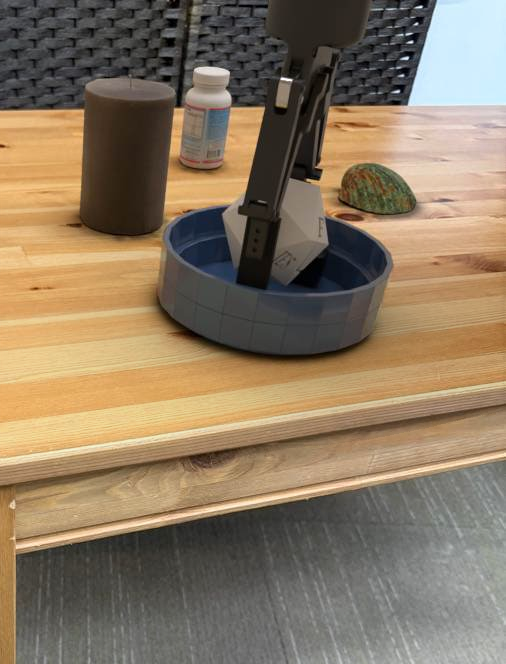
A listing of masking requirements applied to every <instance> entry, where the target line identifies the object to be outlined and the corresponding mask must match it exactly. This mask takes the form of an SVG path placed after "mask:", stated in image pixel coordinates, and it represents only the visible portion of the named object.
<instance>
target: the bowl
mask: <svg viewBox="0 0 506 664" xmlns="http://www.w3.org/2000/svg"><path fill="white" fill-rule="evenodd" d="M232 204H233V203H231V204H220V205H219V204H218V205H211V206H207V207H202V208H198V209H193V210H190V211H187V212H185V213H183V214H181V215H179V216H177V217H175V218H174V219H173V220H172V221H171V222H169V223H168V224H167V225H165V228H164V231H163V233H162V234H163V235H162V238H161V250H160V257H159V265H158V266H159V267H158V276H157V286H156V294H157V297H158V300H159V303H160V305H161V307H162V308H163V309H164V310H165V311H166V313H168V314H169V316H170V317H171V318H172V319H173V320H175V321H176V322H178V323H179V324H181V325H182V326H184V327H186V328H187V329H188V330H190V331H192V332H193V333H194V334H197V335H198V336H201V337H203V338H206V339H207V340H209V341H212V342H215V343H218V344H220V345H223V346H227V347H230V348H234V349H237V350H241V351H242V350H243V351H246V352H252V353H258V354H262V355H263V354H265V355H276V356H308V355H316V354H317V355H318V354H323V353H328V352H333V351H339V350H341V349H345V348H346V347H350V346H353V345H355V344H358V343H359V342H361V341H362V340H364V339H365V338H366V337H368V336H369V335H370V334H372V333H373V331H374V329H375V327H376V324H377V322H378V320H379V316H380V313H381V310H382V307H383V303H384V301H385V297H386V294H387V290H388V287H389V284H390V281H391V277H392V274H393V270H394V268H395V264H394V260H393V256H392V253H391V251H390V250H389V249H388V248H387V247H386V246H385V245H384V243H383V242H382V241H380V240H379V239H378V238H376V237H375V236H373V235H372V234H370V233H368V232H367V231H366V230H364V229H362V228H360V227H358V226H355V225H353V224H351V223H349V222H347V221H345V220H341V219H338V218H335V217H331V216H330V215H326V214H324V216H325V223H326V230H327V237H328V244H329V245H328V246H327V247H326V249H328V250H329V253H328V257H327V261H326V265H325V269H324V273H323V277H322V279H321V280H320V281H319V283H318V284H317V285H316V286H314V287H309V286H305V285H301V284H298V283H294V282H290V283H289V284H288V285H287V286H284V285H281V284H278V283H275V282H271V281H269V284H268V289H267V290H262V289H257V288H253V287H249V286H244V285H240V284H236V279H237V273H238V271H237V270H234V266H233V262H232V257H231V253H230V248H229V244H228V239H227V235H226V230H225V226H224V221H223V217H222V214H223V213H224V212H225V211H226V210H227V209H228V208H229V207H230V206H231V205H232Z"/></svg>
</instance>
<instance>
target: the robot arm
mask: <svg viewBox="0 0 506 664" xmlns="http://www.w3.org/2000/svg"><path fill="white" fill-rule="evenodd" d="M372 4H373V0H268V4H267V12H266V17H265V24H264V29H265V32H266V34H267V35H268V36H269V37H271V39H275V40H277V41H283V42H284V43H285V44H286V45H287V52H286V54H285V57H284V61H283V65H278V66H277V67H276V72H275V73H273V74H272V73H271V75H270V77H269V79H268V81H267V92H266V98H265V104H264V110H263V115H262V119H261V124H260V128H259V133H258V137H257V141H256V146H255V148H254V149H255V150H254V154H253V159H252V164H251V167H250V172H249V175H248V181H247V185H246V189H245V191H246V193H245V198H244V202H243V204H242V206H241V205H239V207H238V214H239V215H244V216H247V221H246V227H245V233H244V239H243V244H242V250H241V256H240V262H239V267H238V273H237V279H236V284H240V285H244V286H249V287H253V288H257V289H262V290H267V289H268V284H269V279H270V274H271V269H272V264H273V259H274V254H275V249H276V244H277V239H278V235H279V230H280V225H281V220H282V218H279V216H280V209H281V206H282V203H283V199H284V196H285V192H286V189H287V185H288V182H289V179H290V178H291V179H295V180H299V181H303V182H307V183H310V184H312V182H311V181H315V182H316V181H317V182H320V181H321V179H322V176H323V171H324V168H320V167H318V166H319V165H320V163H321V161H322V152H323V146H324V139H325V134H326V129H327V122H328V117H329V111H330V106H331V100H332V95H333V88H334V82H335V78H336V73H337V69H338V65H339V62H340V61H341V57H342V56H341V49H343V48H350V47H353V46H356V45H359V43H361V42H362V40H363V39H364V37H365V34H366V28H367V25H368V21H369V17H370V11H371V9H372V8H371V7H372ZM308 180H311V181H308ZM259 200H260V201H265V202H267V203H262V202H258V201H259Z"/></svg>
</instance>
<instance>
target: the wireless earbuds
mask: <svg viewBox="0 0 506 664" xmlns="http://www.w3.org/2000/svg"><path fill="white" fill-rule="evenodd" d="M328 253H329V250H328V249H326V248H325V249H324V250H323V251H321V252H320V253H319V254H318V255H317V256H316V257H315V258H314V259H313V260H312V261H311V262H310V263H309V264H308V265H307V266H306V267H305V268H304V269H303V270H301V271H300V273H299V274H298V275H297V276H296V277H295V278H294V279H293V280H292V281H291V282H294V283H298V284H301V285H305V286H309V287H314V286H316V285H317V284H318V283H319V281H320V280H321V279H322V277H323V273H324V269H325V265H326V261H327V257H328Z"/></svg>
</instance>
